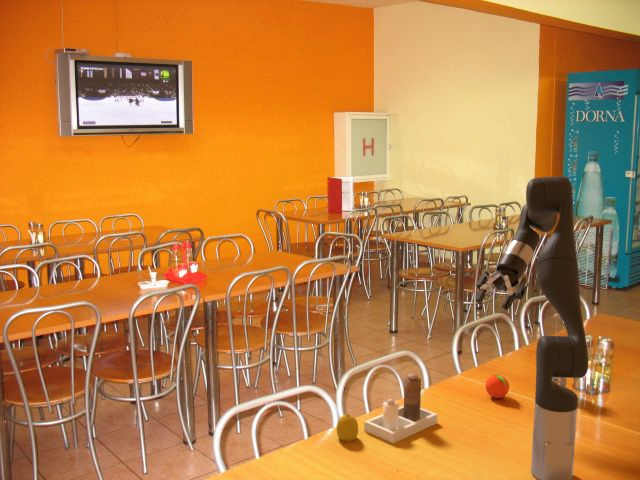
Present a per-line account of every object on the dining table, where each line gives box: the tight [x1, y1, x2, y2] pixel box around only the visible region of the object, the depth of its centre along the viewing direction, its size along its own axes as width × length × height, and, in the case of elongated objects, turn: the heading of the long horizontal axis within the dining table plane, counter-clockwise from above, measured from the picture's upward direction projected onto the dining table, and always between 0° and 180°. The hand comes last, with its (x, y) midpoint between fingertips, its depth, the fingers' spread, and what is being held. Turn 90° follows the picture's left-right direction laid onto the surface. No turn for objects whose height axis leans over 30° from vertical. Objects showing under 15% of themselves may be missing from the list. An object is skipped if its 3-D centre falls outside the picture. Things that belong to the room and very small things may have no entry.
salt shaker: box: [382, 398, 400, 431], centre depth 178 cm, size 4×4×9 cm
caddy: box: [363, 404, 439, 444], centre depth 182 cm, size 18×10×4 cm, turn 133°
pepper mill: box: [403, 373, 422, 422], centre depth 184 cm, size 4×4×13 cm
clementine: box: [485, 374, 510, 399], centre depth 205 cm, size 8×7×7 cm
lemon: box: [336, 413, 359, 443], centre depth 175 cm, size 6×6×8 cm
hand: (491, 305), depth 192 cm, fingers open, 8 cm apart
